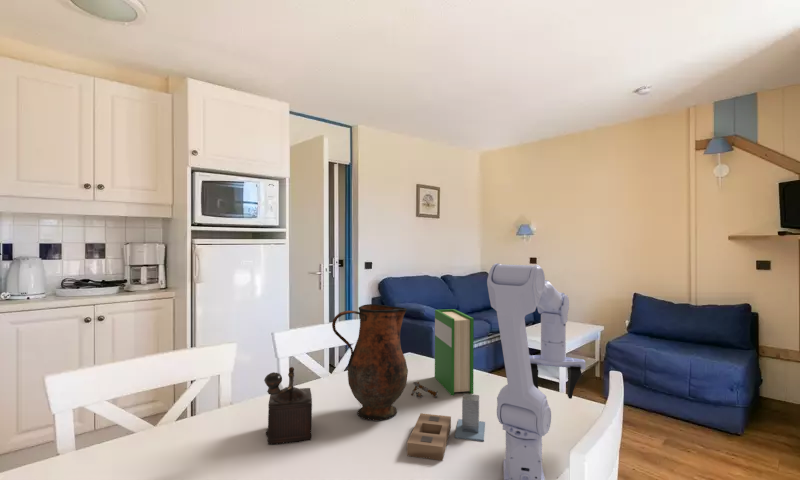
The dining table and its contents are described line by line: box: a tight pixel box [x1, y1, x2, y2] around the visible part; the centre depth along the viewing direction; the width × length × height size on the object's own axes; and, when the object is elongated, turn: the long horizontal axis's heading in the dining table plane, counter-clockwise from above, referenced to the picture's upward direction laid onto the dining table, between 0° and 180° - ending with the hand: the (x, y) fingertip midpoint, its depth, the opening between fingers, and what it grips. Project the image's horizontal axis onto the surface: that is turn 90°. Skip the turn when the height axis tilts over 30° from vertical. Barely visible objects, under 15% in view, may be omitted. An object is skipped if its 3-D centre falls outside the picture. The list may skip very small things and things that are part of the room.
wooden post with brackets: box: [411, 381, 439, 399], centre depth 125 cm, size 2×8×4 cm, turn 83°
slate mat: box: [454, 418, 486, 442], centre depth 103 cm, size 10×7×1 cm
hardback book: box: [434, 308, 475, 396], centre depth 136 cm, size 18×7×24 cm, turn 12°
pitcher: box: [331, 303, 409, 422], centre depth 112 cm, size 17×21×30 cm
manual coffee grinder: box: [263, 366, 313, 445], centre depth 99 cm, size 16×11×18 cm
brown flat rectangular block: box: [406, 412, 452, 462], centre depth 97 cm, size 16×8×3 cm, turn 166°
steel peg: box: [461, 393, 480, 433], centre depth 103 cm, size 4×4×8 cm
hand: (553, 395), depth 99 cm, fingers open, 7 cm apart
